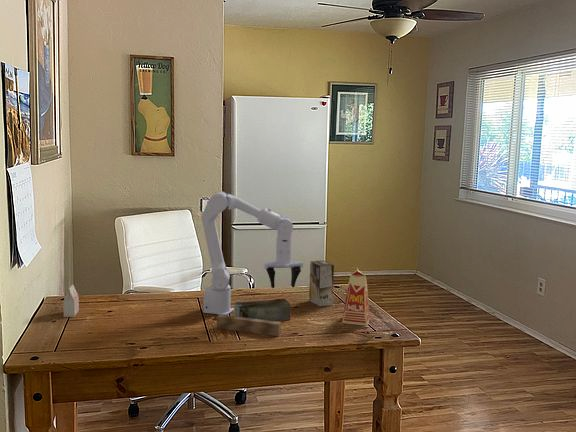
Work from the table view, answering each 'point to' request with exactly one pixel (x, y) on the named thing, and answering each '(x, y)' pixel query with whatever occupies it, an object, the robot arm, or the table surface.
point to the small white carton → (71, 303)
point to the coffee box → (321, 283)
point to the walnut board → (249, 325)
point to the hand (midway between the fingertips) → (282, 287)
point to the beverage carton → (264, 310)
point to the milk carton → (356, 300)
